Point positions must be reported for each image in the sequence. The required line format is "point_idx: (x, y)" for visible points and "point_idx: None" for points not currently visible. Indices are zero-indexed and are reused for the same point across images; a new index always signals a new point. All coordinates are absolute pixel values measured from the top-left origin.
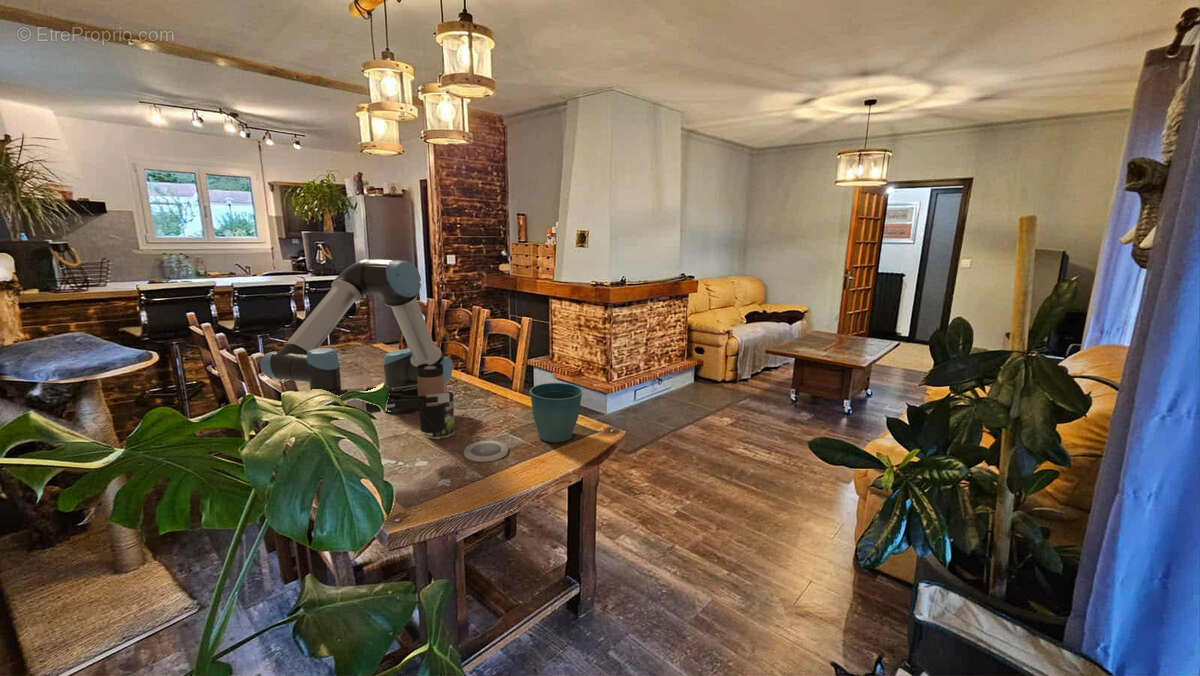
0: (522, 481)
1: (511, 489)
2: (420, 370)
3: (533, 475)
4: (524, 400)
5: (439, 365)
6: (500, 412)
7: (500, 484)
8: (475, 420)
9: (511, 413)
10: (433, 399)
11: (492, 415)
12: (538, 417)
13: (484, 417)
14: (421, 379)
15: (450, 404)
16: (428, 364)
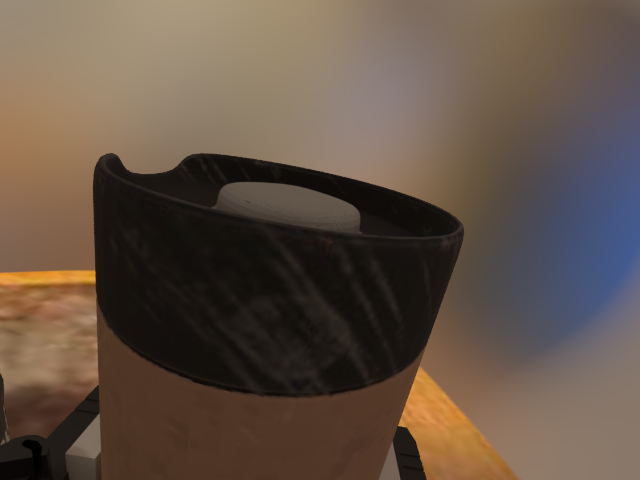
0: (451, 425)
1: (492, 460)
2: (433, 266)
3: (425, 398)
4: (45, 275)
5: (242, 175)
6: (44, 328)
7: (471, 476)
8: (5, 398)
9: (84, 316)
10: (416, 469)
11: (36, 348)
12: None
13: (20, 369)
14: (398, 400)
15: (5, 414)
16: (126, 169)
